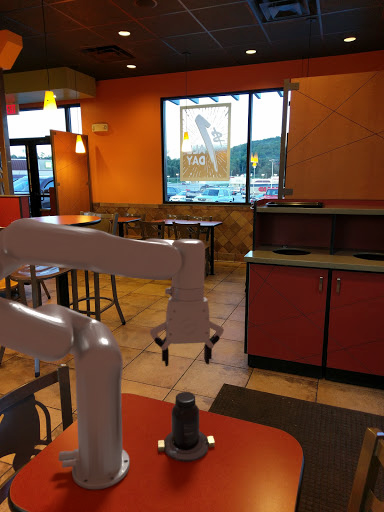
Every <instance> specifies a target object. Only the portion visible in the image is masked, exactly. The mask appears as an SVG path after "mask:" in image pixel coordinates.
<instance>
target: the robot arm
mask: <svg viewBox="0 0 384 512" xmlns="http://www.w3.org/2000/svg"><path fill="white" fill-rule="evenodd" d="M205 259H206V246H205V243H204V241H202V240H200V239H195V238H183V239H182V238H181V239H177V240H176V239H175V240H173V239H161V238H147V239H145V240H140V239H139V240H137V239H132V238H126V237H121V236H118V235H114V234H111V233H108V232H106V231H103V230H99V229H95V228H91V227H90V228H89V227H81V226H73V225H67V224H58V223H51V222H43V221H39V220H37V219H34V218H30V217H24V218H19V219H16V220H14V221H13V222H11V223H10V224H8V226H6V227H5V228H2V229H1V230H0V282H1V281H3V280H4V279H6V278H7V277H8V276H10V275H11V274H13V273H14V272H16V271H18V270H19V269H21V268H23V266H25V265H28V266H36V267H47V268H49V267H50V268H61V269H72V270H81V271H89V272H94V273H99V274H107V275H112V276H118V277H124V278H131V279H140V280H142V279H143V280H151V281H152V280H153V281H165V280H169V279H171V285H170V286H169V287H167V288H164V289H165V290H164V292H165V295H168V296H170V297H169V298H168V300H167V305H166V314H165V321H164V322H162V323H160V324H158V325H156V326H155V327H152V328H150V331H149V334H150V335H151V337H152V339H153V341H154V343H155V344H156V345H157V346H158V347H159V348H160V349H161V362H164V365H165V367H168V366H169V361H170V360H169V359H170V358H169V355H170V354H169V352H170V351H169V346H170V345H171V344H173V345H174V344H175V345H177V344H178V345H181V344H200V343H201V344H202V343H204V345H203V348H204V350H203V352H204V353H203V361H204V362H205V364H206V365H210V360H212V359H213V358H212V357H213V356H212V355H213V351H212V350H213V348H214V346H215V345H216V344H217V343H218V342H219V341H220V338H221V337H222V335H223V333H224V331H225V330H224V328H223V326H221V325H220V324H216V323H214V322H212V321H211V320H210V319H211V317H210V309H209V308H210V307H209V301H208V298H206V297H205V269H206V267H205V266H206V265H205V264H206V260H205ZM211 330H213V331H215V332H214V334H213V335H212V336H211ZM163 331H165V337H164V338H161V337H160V336H159V333H161V332H163ZM0 346H1V347H4V348H6V349H9V350H12V351H15V352H17V353H21V354H23V355H26V356H29V357H31V358H34V359H37V360H40V361H42V362H47V363H48V362H49V363H50V362H52V363H53V362H58V361H60V360H63V359H64V358H66V357H67V356H68V355H69V354H70V355H73V360H74V370H75V396H76V397H75V401H76V404H75V405H76V417H77V418H76V419H77V442H78V444H77V445H78V448H75V449H73V450H70V451H69V450H63V451H59V453H58V462H62V464H61V466H62V467H61V468H62V469H63V468H70V467H71V468H72V469H71V473H72V475H71V476H72V478H73V481H74V482H75V484H77V485H78V486H80V487H82V488H84V489H88V490H102V489H106V488H109V487H112V486H114V485H116V484H118V483H119V482H120V481H121V480H122V479H123V478H124V477H125V476H126V475H127V474H128V471H129V469H130V463H131V461H130V456H129V454H128V453H127V451H126V450H125V449H124V448H123V421H122V420H123V419H122V418H123V416H122V414H123V413H122V412H123V411H122V409H123V406H122V376H123V370H124V369H123V366H124V364H123V363H124V362H123V355H122V352H121V348H120V346H119V343H118V341H117V340H116V338H115V336H114V334H113V333H112V331H111V329H110V328H109V327H108V326H107V325H106V324H105V323H103V322H101V321H99V320H97V319H95V318H91V316H87V315H86V314H83V313H80V312H79V311H76V310H73V309H71V308H69V307H66V306H64V305H63V306H62V305H60V304H55V303H54V304H53V303H47V304H42V305H40V306H38V307H36V308H33V307H30V306H28V305H26V304H23V303H21V302H18V301H16V300H11V299H8V298H3V297H2V296H0Z"/></svg>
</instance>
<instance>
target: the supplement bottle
mask: <svg viewBox="0 0 384 512" xmlns="http://www.w3.org/2000/svg"><path fill="white" fill-rule="evenodd" d="M199 431H200V409H199V407H198V405H197V404H196V395H195V394H194V393H192V392H189V391H182V392H179V393H177V394H176V396H175V403H174V405H173V407H172V409H171V432H172V443H173V445H174V446H175V447H176V448H178V449H181V450H190V449H193V448H194V447H196V446H197V445H198V443H199Z"/></svg>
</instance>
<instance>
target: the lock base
mask: <svg viewBox="0 0 384 512" xmlns="http://www.w3.org/2000/svg"><path fill="white" fill-rule="evenodd" d="M157 447H158V452H165V454H166V455H167V457H169V458H171V459H172V460H174V461H177V462H182V463H190V462H191V463H192V462H195V461H198V460H201V459H202V458H204V457H205V455H207V453H208V451H209V448H215V447H216V445H215V439H214V436H213V435H209V436H207V435H205V433H203V432H202V431H200V430H199V443H198V445H197V446H196V447H194V448H193V449H190V450H181V449H178V448H176V447H175V446H174V445H173V443H172V431H171V432H169V433H168V434H167V435H166V437H165V438H164V439H161V440H160V439H159V440H157Z"/></svg>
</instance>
